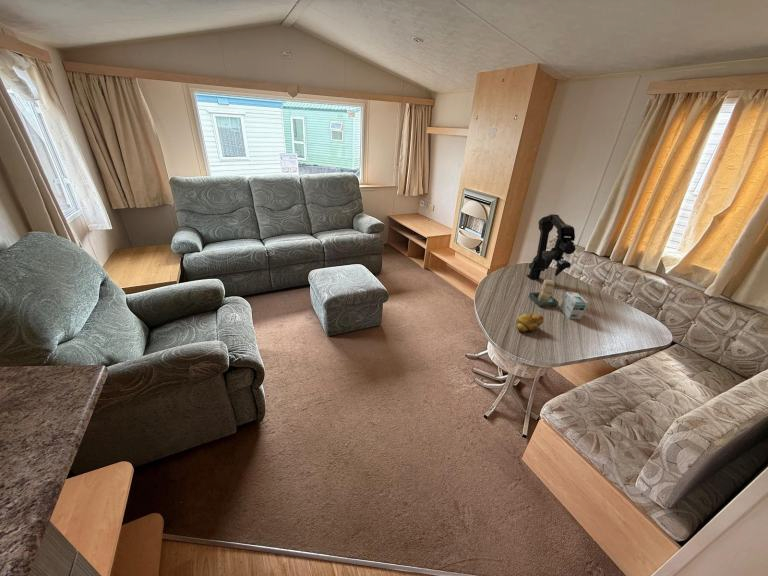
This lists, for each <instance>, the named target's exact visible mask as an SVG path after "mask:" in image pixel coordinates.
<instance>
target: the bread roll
mask: <svg viewBox="0 0 768 576" xmlns="http://www.w3.org/2000/svg"><path fill="white" fill-rule="evenodd" d="M543 323H544V316H543V315H540V314H534V315H533V314H531V313H524V314H522V315H521V316H518V317H517V318H516V329H517V330H518V331H519V332H522V333H526V332H534V331H536V330H537V329H538V328H539V327H540V326H541V325H542V324H543Z"/></svg>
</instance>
